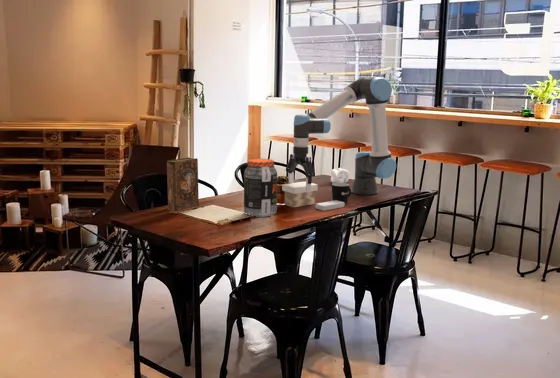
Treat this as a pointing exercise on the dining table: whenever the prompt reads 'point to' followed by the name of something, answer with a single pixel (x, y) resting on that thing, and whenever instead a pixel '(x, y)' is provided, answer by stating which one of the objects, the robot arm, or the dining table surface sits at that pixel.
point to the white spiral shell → (339, 175)
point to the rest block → (329, 205)
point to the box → (299, 199)
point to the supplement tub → (260, 188)
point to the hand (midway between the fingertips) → (299, 187)
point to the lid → (298, 187)
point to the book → (182, 183)
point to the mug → (340, 192)
